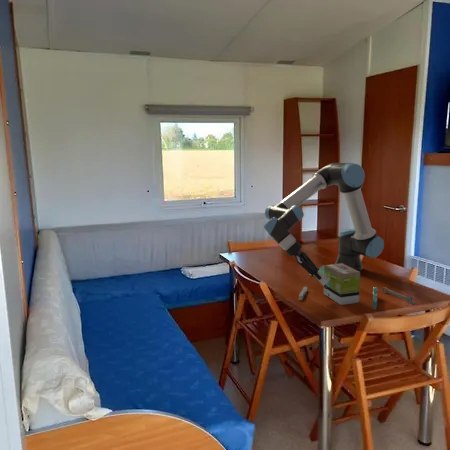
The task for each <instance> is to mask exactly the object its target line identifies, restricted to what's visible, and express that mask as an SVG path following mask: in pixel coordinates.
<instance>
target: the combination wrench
mask: <svg viewBox="0 0 450 450" xmlns="http://www.w3.org/2000/svg"><path fill="white" fill-rule="evenodd" d="M381 290H382V293H384V294H390V295H392V296H393V295H394V296H395V297H398V298H400V299H403V300H406V301H407V302H408V303H409V304H411V305H415V304H416V301H415V302H413V299H416V298H415V296H414V295H410V296H406V295H404V294H401V293H399V292H396V291H393V290H391V289H389V288H388V287H386V286H385V287H384V286H383V287H382V288H381Z"/></svg>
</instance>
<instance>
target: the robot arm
mask: <svg viewBox="0 0 450 450" xmlns="http://www.w3.org/2000/svg"><path fill="white" fill-rule="evenodd" d="M365 173H366V172H365V171H364V169H363V167H362V166H361V165H360V164H357V163H355V162H331V163H328V164H327V165H325V166H324V167H322V168H320V169H318V170H317V171H316V172H315V173H313V174H312V177H311V178H310V179H308V180H307V181H306V182H305V183H303V184H302V185H300V186H299V187H297V188H296V189H295V190H294V191H292V192H291V193H290V194H289V195H287V196H286V197H285V198H283V199H282V200H280V201H279V202H278V203H277V204H275V205H268V206H267V207H266V208H265V209H264V210H265V211H264V215H265V218H266V219H267V220H268V221H267V222H266V223H265V224H264V226H263V228H264V230H265V231H266V232H267V234H268V235H269V236H270V237H271V238H272V239H273V240H274V241H275V242H276V243H277V244H278V246H279V248H282V249H283V251H285V253H286V254H287V255H288V257H290V258H292V257H293V256H294V258H295V260H296V263H297V264H299V265H300V266H301V268H303V269H304V270H305V271H306V272H307V273H309V275H311V277H313V276H314V277H315V278H316V281H318V282H319V283H320V284H321V285H322V287H324V285H325V284H326V283H328V281H327V280H326V279H325V277H324V274H322V273H321V272H320V268H318V266H317V265H316V264H315V263H314V261H313V260H312V259H311V258H310V257H309V255H308V253H307V252H304V251H302V247H303V246H302V244H301V243H300V242H299V241H297V239H296V238H295V237H294V235H293V234H292V233H291V232H290V230H291V229H292V228H293V227H294V226H295V225H296V224H298V223H299V222H300V221H301V220H302V218H304V211H303V209H302V208H301V207H300V206H301V205H303V203H305V202H306V201H308V200H309V199H310V198H311V197H312V196H314V195H315V194H316V193H318V192H319V191H320V190H324V189H326V188H328V187H329V186H337V187H338V189H339V192H340V193H341V194H343V195H344V196H343V197H344V199H345V202H346V205H347V208H348V212H349V215H350V219H351V222H352V225H353V228H348V229H347V228H346V229H342V230H340V231H339V234H338V235H339V236H338V256H337V258H336V261H335V263H334V264H340V263H342V264H344V265H347V266H349V267H351V268H353V269H355V270H357V271H359V272H362V271H363V263H362V259H361V256H364V257H366V258H371V259H374V258H377V257H379V256H380V255H381V253H383V250H384V249H385V248H384V247H385V242H384V239H383V238H382V237H380V236H378V235H377V234H378V233H377V230H376V229H375V228H373V227H372V223H371V221H370V217H369V213H368V211H367V209H368V208H367V206H366V203H365V200H364V195H363V192H362V190H361V189H362V188H363V186H364V185H363V184H364V182H365V178H366V174H365Z"/></svg>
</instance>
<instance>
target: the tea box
mask: <svg viewBox="0 0 450 450" xmlns="http://www.w3.org/2000/svg"><path fill="white" fill-rule="evenodd" d="M323 267H324V268H323V272H324V273H323V276H324V277H325V279H326V280H327V281H328V283H326V284H325V285H324V286H323V295H325V296H327V297H328V298H330V299H331V300H332V301H334V302H335V303H336V304H338V305H339V306H342V305H349V304H350V305H351V304H357V303H359V302H360V285H361V271H357V270H355V269H353V268H351V267H349V266H347V265H344V264H342V263H340V264H335V263H334V264H326V265H325V264H324V266H323Z"/></svg>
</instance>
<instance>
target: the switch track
mask: <svg viewBox="0 0 450 450" xmlns="http://www.w3.org/2000/svg"><path fill="white" fill-rule="evenodd" d="M378 288H379V287H377V286H373V288H372V304H371V305H372V307H371V308H372V310H377V308H378ZM307 292H308V286H303V288H302V290H301V291H300V293H299V295H298V301H303V299H304V298H305V295H306V294H307Z"/></svg>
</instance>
